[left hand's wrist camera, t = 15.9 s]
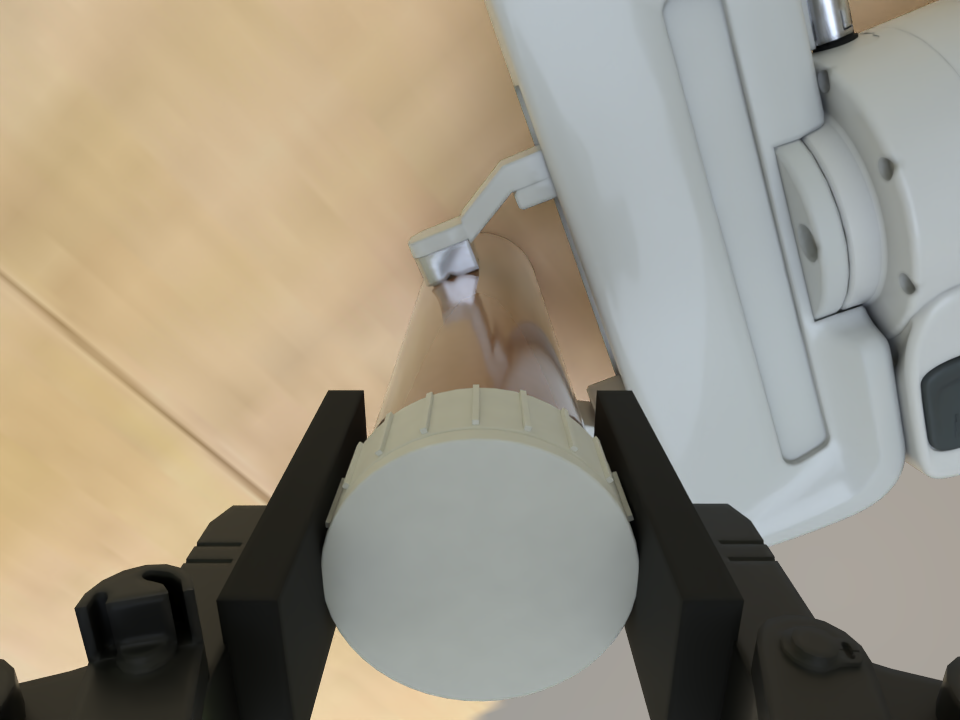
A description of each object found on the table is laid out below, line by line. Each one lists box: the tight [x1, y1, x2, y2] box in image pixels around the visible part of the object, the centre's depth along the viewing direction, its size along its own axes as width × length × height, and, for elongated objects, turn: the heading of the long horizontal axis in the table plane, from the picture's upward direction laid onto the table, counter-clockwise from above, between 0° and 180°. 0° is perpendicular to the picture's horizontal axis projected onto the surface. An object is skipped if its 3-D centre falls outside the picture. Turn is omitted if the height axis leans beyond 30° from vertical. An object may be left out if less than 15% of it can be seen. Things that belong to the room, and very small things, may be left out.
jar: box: [373, 233, 587, 432], centre depth 19 cm, size 5×5×18 cm
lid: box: [321, 385, 639, 701], centre depth 11 cm, size 5×5×2 cm
